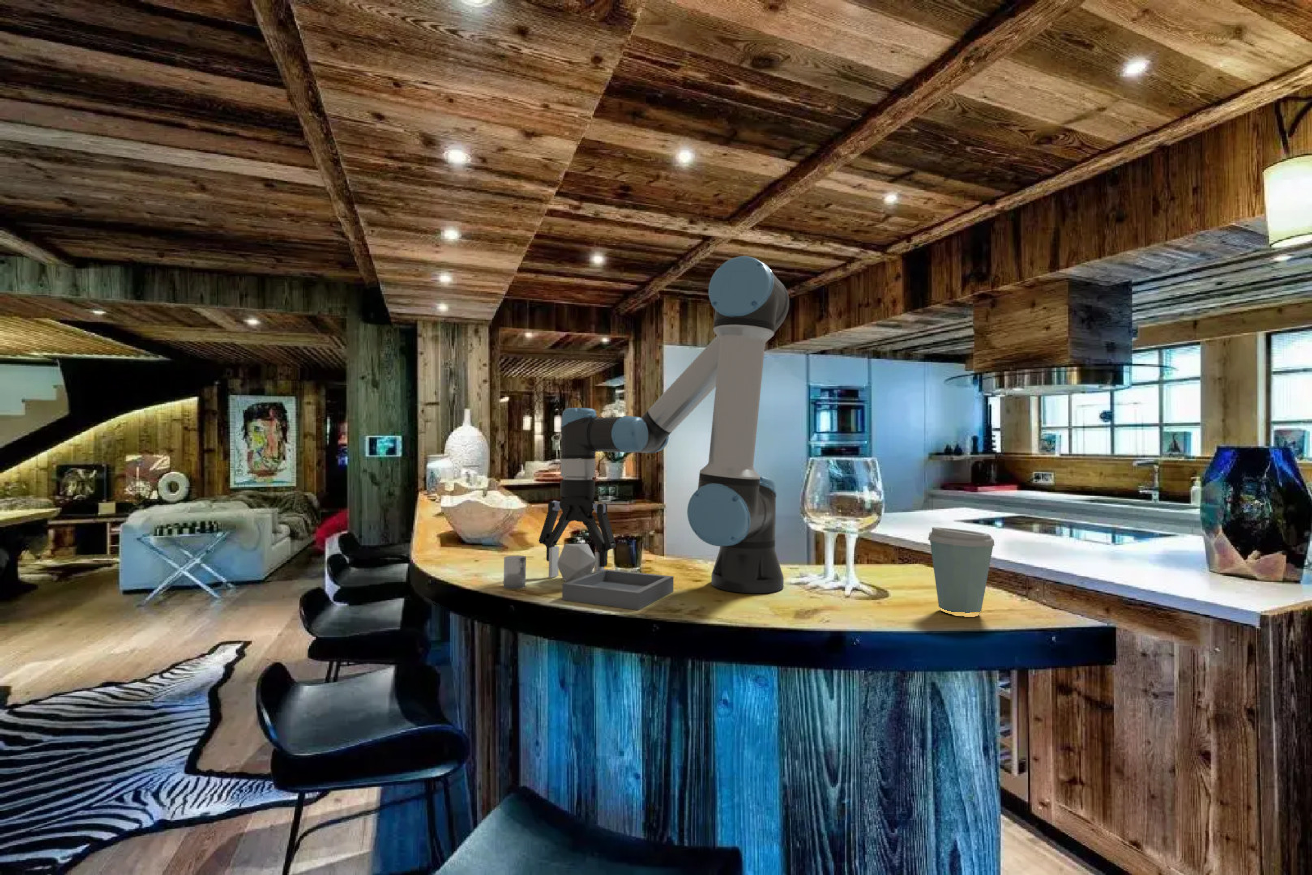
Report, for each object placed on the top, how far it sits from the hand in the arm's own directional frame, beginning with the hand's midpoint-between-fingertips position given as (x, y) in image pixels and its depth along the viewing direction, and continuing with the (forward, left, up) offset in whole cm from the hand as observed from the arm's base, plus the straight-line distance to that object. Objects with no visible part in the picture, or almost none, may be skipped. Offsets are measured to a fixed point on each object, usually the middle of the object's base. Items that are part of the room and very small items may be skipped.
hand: (575, 579), depth 126 cm
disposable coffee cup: (-75, -8, 0) cm, 76 cm away
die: (0, 0, 0) cm, 0 cm away
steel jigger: (+8, +11, 0) cm, 14 cm away
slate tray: (-15, +8, 0) cm, 17 cm away
